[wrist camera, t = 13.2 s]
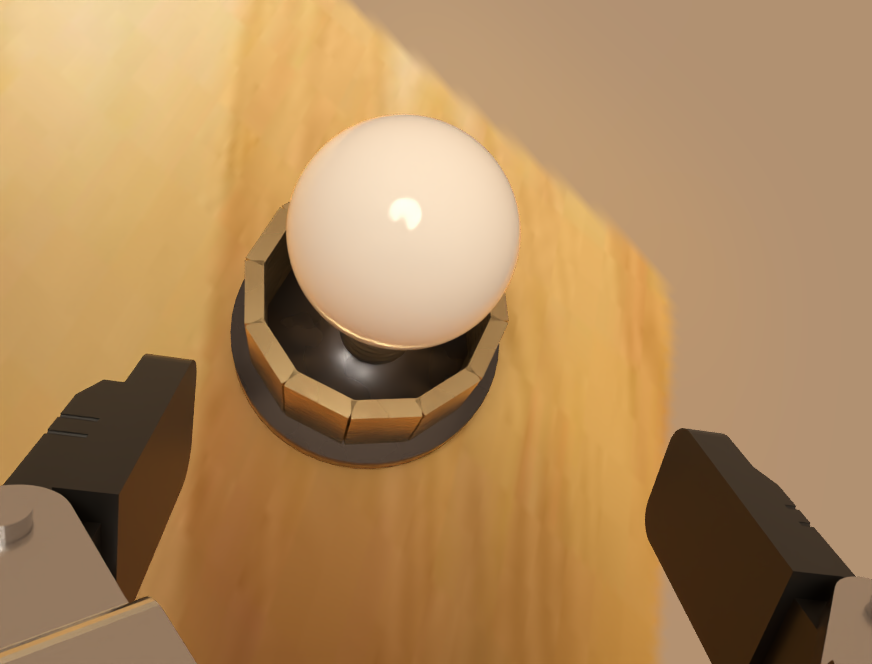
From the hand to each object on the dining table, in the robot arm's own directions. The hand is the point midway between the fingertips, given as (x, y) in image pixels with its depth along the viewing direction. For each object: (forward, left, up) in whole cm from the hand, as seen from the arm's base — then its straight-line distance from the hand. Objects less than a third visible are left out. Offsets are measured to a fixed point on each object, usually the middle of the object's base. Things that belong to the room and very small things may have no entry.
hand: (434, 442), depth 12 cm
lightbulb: (+1, +7, -14) cm, 16 cm away
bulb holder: (+1, +7, -15) cm, 16 cm away
